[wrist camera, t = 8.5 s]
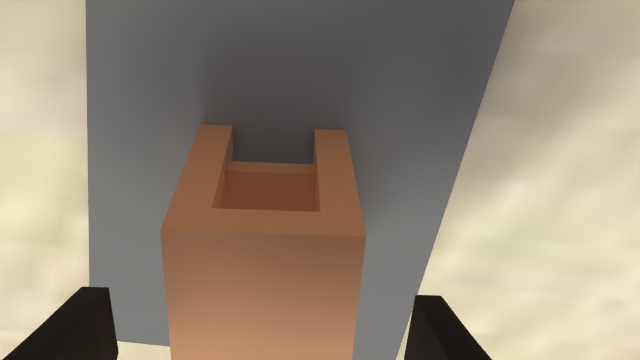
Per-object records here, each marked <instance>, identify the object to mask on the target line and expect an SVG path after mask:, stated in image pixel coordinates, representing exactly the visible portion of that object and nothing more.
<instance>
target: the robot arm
mask: <svg viewBox="0 0 640 360" xmlns="http://www.w3.org/2000/svg"><path fill="white" fill-rule="evenodd" d="M117 356H118V346H117V339H116V332H115V326H114V319H113V312H112V306H111V299H110V292H109V287H81V288H80V289H79V290H78V291H77V292H76V293H75V294H73V295H72V296H71V297H70V298H69V299H68V300H67V301H66V302H65V303H64V304H63V305H62V306H61V307H60V308H59V309H58V310H56V311H55V312H54V313H53V314H52V315H51V316H50V317H49V318H48V319H47V320H46V321H45V322H44V323H43V324H42V325H41V326H40V327H38V328H37V329H36V330H35V331H34V332H33V333H32V334H31V335H30V336H29V337H27V338H26V339H25V340H24V341H23V342H22V343H21V344H20V345H19V346H17V347H16V348H15V349H14V350H13V351H12V352H11V353H10V354H8V355H7V356H6V357H5V358H4V359H2V360H117ZM404 360H492V359H491V358H490V357H489V356H488V355H487V353H486V352H485V351H484V350H483V349H482V348H481V346H480V345H479V344H478V343H477V341H476V340H475V339H474V338H473V336H472V335H471V334H470V333H469V331H468V330H467V329H466V328H465V326H464V325H463V324H462V322H461V321H460V320H459V319H458V317H457V316H456V315H455V313H454V312H453V311H452V309H451V308H450V307H449V305H448V304H447V303H446V301H445V300H444V299H443V298H442V297H441V296H433V295H415V300H414V305H413V311H412V317H411V322H410V328H409V334H408V339H407V345H406V351H405V356H404Z"/></svg>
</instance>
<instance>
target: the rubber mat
mask: <svg viewBox="0 0 640 360" xmlns="http://www.w3.org/2000/svg"><path fill="white" fill-rule="evenodd" d="M514 1H515V0H86V57H87V131H88V205H89V278H90V287H109V292H110V299H111V306H112V312H113V319H114V326H115V332H116V339H117V341H122V342H132V343H142V344H151V345H161V346H170V339H169V327H168V316H167V304H166V293H165V281H164V270H163V259H162V247H161V236H160V229H161V226H162V224H163V221H164V219H165V216H166V213H167V211H168V208H169V205H170V203H171V200H172V198H173V195H174V192H175V190H176V187H177V184H178V182H179V179H180V177H181V174H182V171H183V169H184V166H185V163H186V161H187V158H188V156H189V153H190V150H191V148H192V145H193V142H194V140H195V137H196V135H197V132H198V129H199V127H200V124H206V125H230V126H233V156H232V160H231V161H236V162H263V163H289V164H314V163H313V152H314V136H315V129H326V130H346V132H347V137H348V142H349V147H350V153H351V158H352V163H353V168H354V174H355V179H356V184H357V189H358V195H359V200H360V205H361V210H362V216H363V221H364V226H365V231H366V245H365V253H364V261H363V270H362V278H361V287H360V295H359V303H358V312H357V320H356V329H355V337H354V345H353V354H352V360H396V357H397V354H398V351H399V348H400V345H401V342H402V339H403V336H404V333H405V330H406V327H407V324H408V321H409V318H410V315H411V312H412V309H413V305H414V300H415V295H417V294H418V291H419V287H420V284H421V281H422V278H423V275H424V272H425V269H426V266H427V263H428V260H429V257H430V254H431V251H432V248H433V245H434V242H435V239H436V236H437V233H438V230H439V227H440V224H441V221H442V218H443V215H444V212H445V209H446V206H447V203H448V200H449V197H450V194H451V191H452V188H453V185H454V182H455V179H456V176H457V173H458V170H459V167H460V164H461V161H462V158H463V155H464V152H465V149H466V146H467V143H468V140H469V137H470V134H471V130H472V127H473V124H474V121H475V118H476V115H477V112H478V109H479V106H480V103H481V100H482V97H483V94H484V91H485V88H486V85H487V82H488V79H489V76H490V73H491V70H492V67H493V64H494V61H495V58H496V55H497V52H498V49H499V46H500V43H501V40H502V37H503V34H504V31H505V28H506V25H507V22H508V19H509V16H510V13H511V10H512V7H513V4H514Z"/></svg>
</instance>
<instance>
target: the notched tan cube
mask: <svg viewBox="0 0 640 360" xmlns="http://www.w3.org/2000/svg"><path fill="white" fill-rule="evenodd" d="M232 156H233V126H230V125H206V124H200V127H199V129H198V132H197V135H196V137H195V140H194V142H193V145H192V148H191V150H190V153H189V156H188V158H187V161H186V163H185V166H184V169H183V171H182V174H181V177H180V179H179V182H178V184H177V187H176V190H175V192H174V195H173V198H172V200H171V203H170V205H169V208H168V211H167V213H166V216H165V219H164V221H163V224H162V226H161V229H160V236H161V247H162V259H163V270H164V281H165V293H166V304H167V316H168V327H169V339H170V350H171V360H352V354H353V345H354V337H355V329H356V320H357V312H358V303H359V295H360V287H361V278H362V270H363V261H364V253H365V245H366V231H365V226H364V221H363V216H362V210H361V205H360V200H359V195H358V189H357V184H356V179H355V174H354V168H353V163H352V158H351V153H350V147H349V142H348V137H347V132H346V130H326V129H315V136H314V152H313V163H314V164H289V163H263V162H236V161H231V160H232Z"/></svg>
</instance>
